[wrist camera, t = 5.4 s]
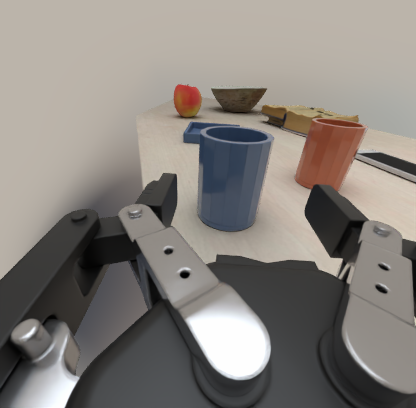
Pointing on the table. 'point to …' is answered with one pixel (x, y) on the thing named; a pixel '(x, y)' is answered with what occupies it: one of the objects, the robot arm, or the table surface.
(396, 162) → the smartphone
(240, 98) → the bowl
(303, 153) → the terracotta cup
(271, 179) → the table surface
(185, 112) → the apple
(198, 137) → the blue tray
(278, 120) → the book
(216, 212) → the blue cup
